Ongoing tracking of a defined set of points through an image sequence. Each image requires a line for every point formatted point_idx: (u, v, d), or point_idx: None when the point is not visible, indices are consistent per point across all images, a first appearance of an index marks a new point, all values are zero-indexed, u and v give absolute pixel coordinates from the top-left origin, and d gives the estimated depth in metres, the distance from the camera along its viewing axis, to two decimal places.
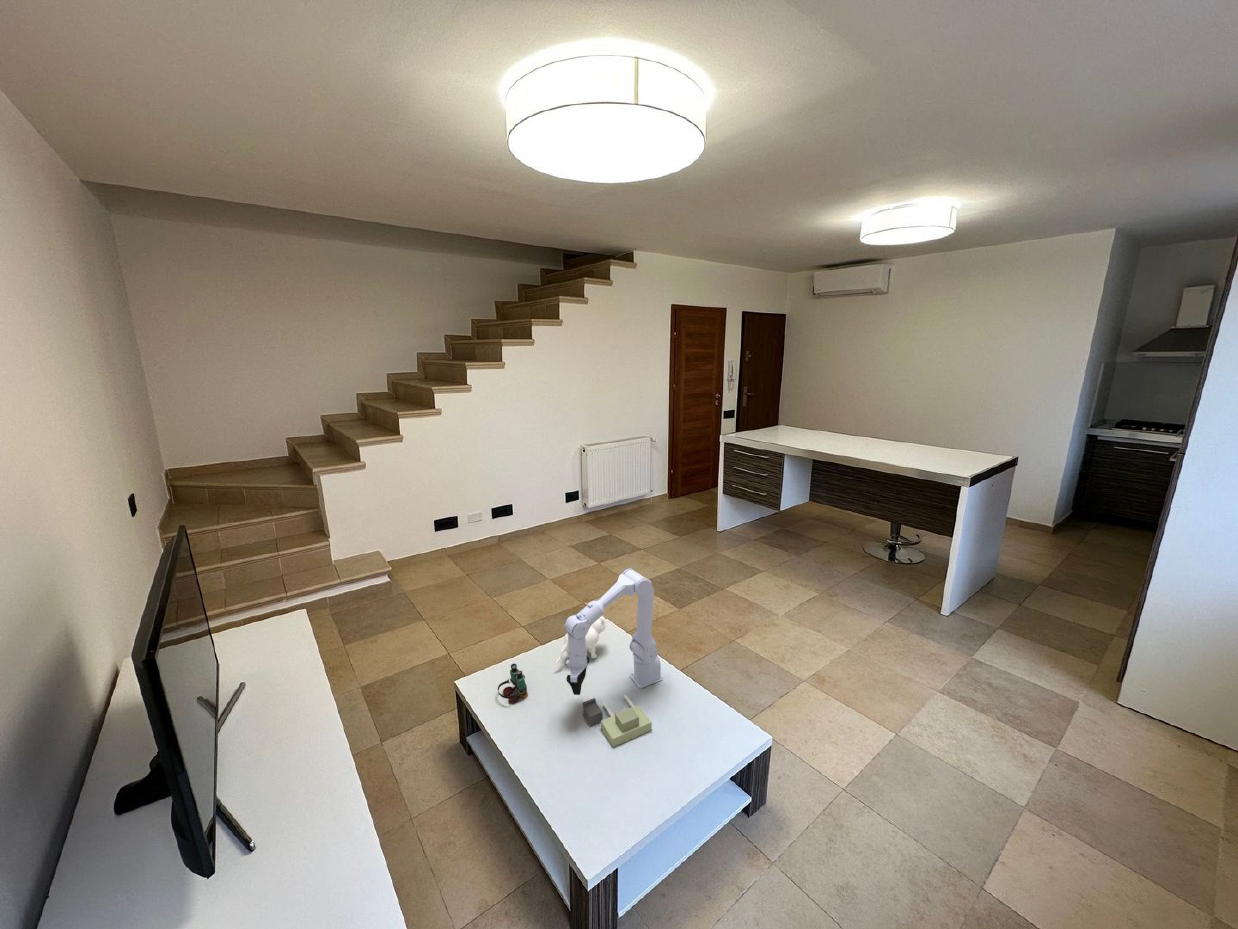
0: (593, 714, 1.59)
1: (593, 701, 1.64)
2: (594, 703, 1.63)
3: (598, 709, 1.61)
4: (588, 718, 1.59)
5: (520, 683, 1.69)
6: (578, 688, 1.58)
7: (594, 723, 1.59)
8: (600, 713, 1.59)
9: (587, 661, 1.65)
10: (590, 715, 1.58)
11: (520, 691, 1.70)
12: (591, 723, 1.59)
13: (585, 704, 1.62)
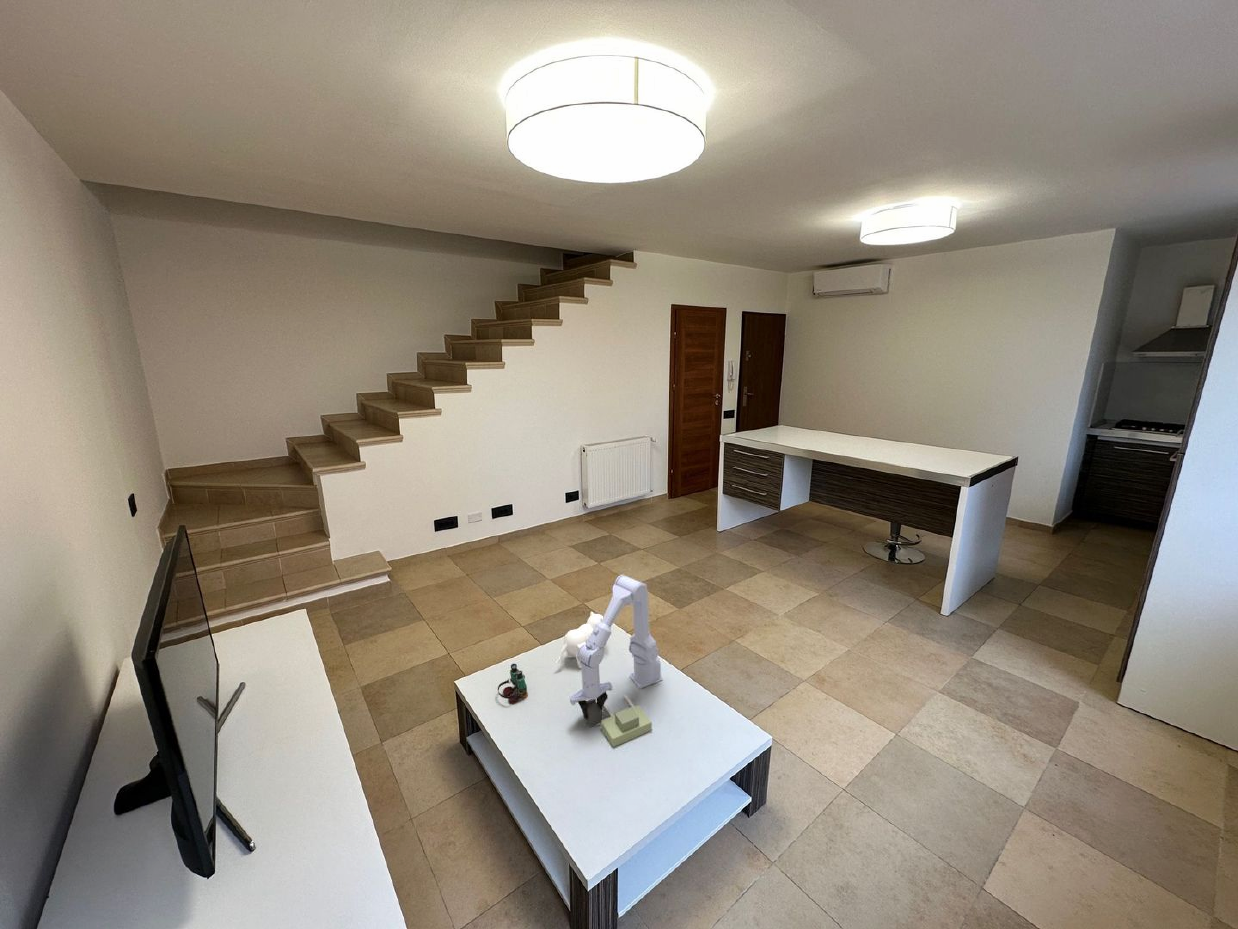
0: (593, 714, 1.58)
1: (593, 701, 1.63)
2: (594, 703, 1.63)
3: (598, 709, 1.60)
4: (588, 719, 1.59)
5: (520, 683, 1.69)
6: None
7: (594, 723, 1.59)
8: (600, 713, 1.59)
9: (601, 698, 1.59)
10: (590, 715, 1.58)
11: (520, 691, 1.70)
12: (591, 723, 1.58)
13: None
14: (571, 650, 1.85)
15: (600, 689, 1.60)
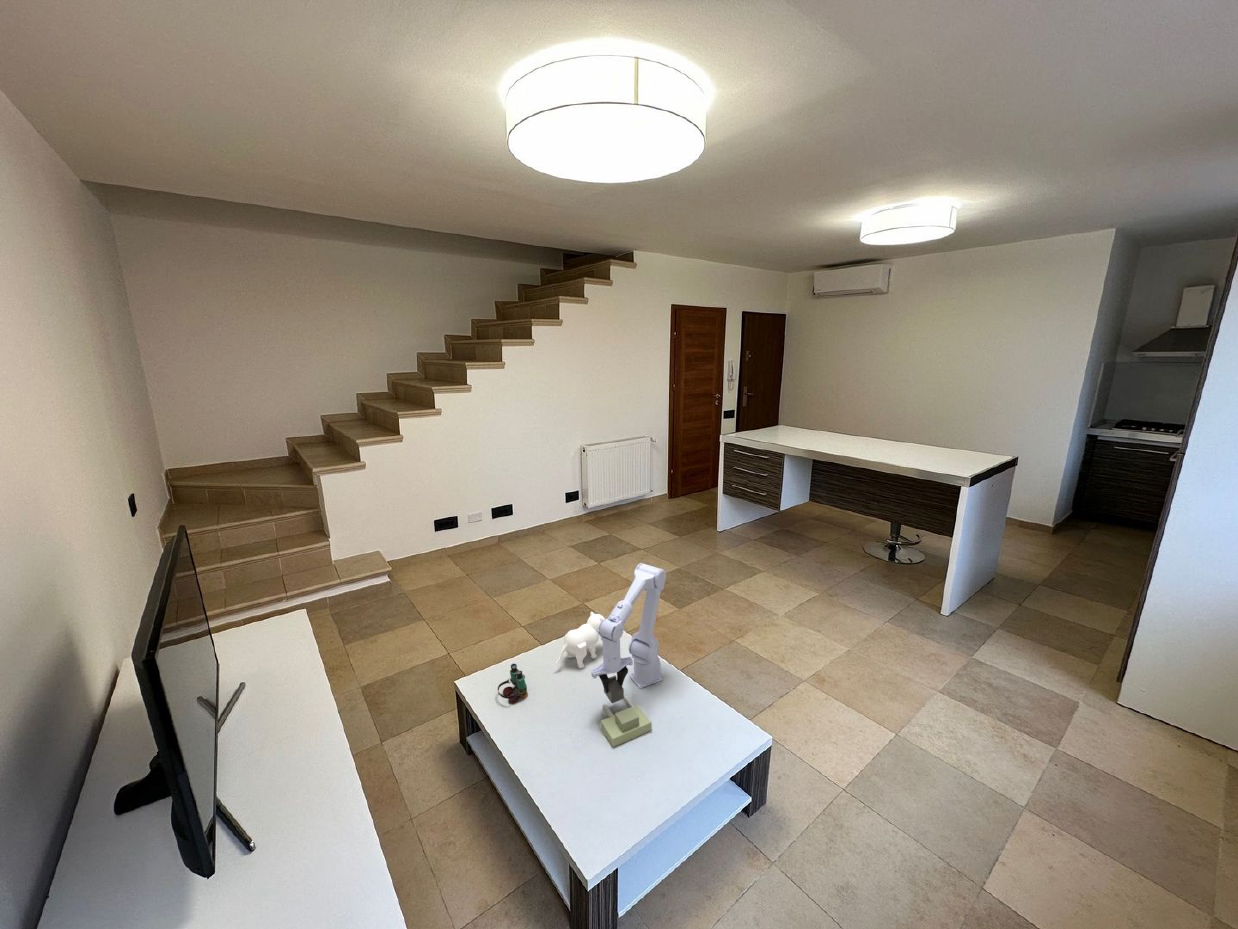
0: (614, 691, 1.60)
1: (614, 678, 1.65)
2: (615, 680, 1.65)
3: (619, 686, 1.62)
4: (609, 695, 1.61)
5: (520, 683, 1.69)
6: None
7: (615, 700, 1.61)
8: (621, 690, 1.61)
9: (622, 672, 1.61)
10: (611, 692, 1.60)
11: (520, 691, 1.70)
12: (612, 700, 1.60)
13: None
14: (571, 650, 1.85)
15: (621, 663, 1.62)
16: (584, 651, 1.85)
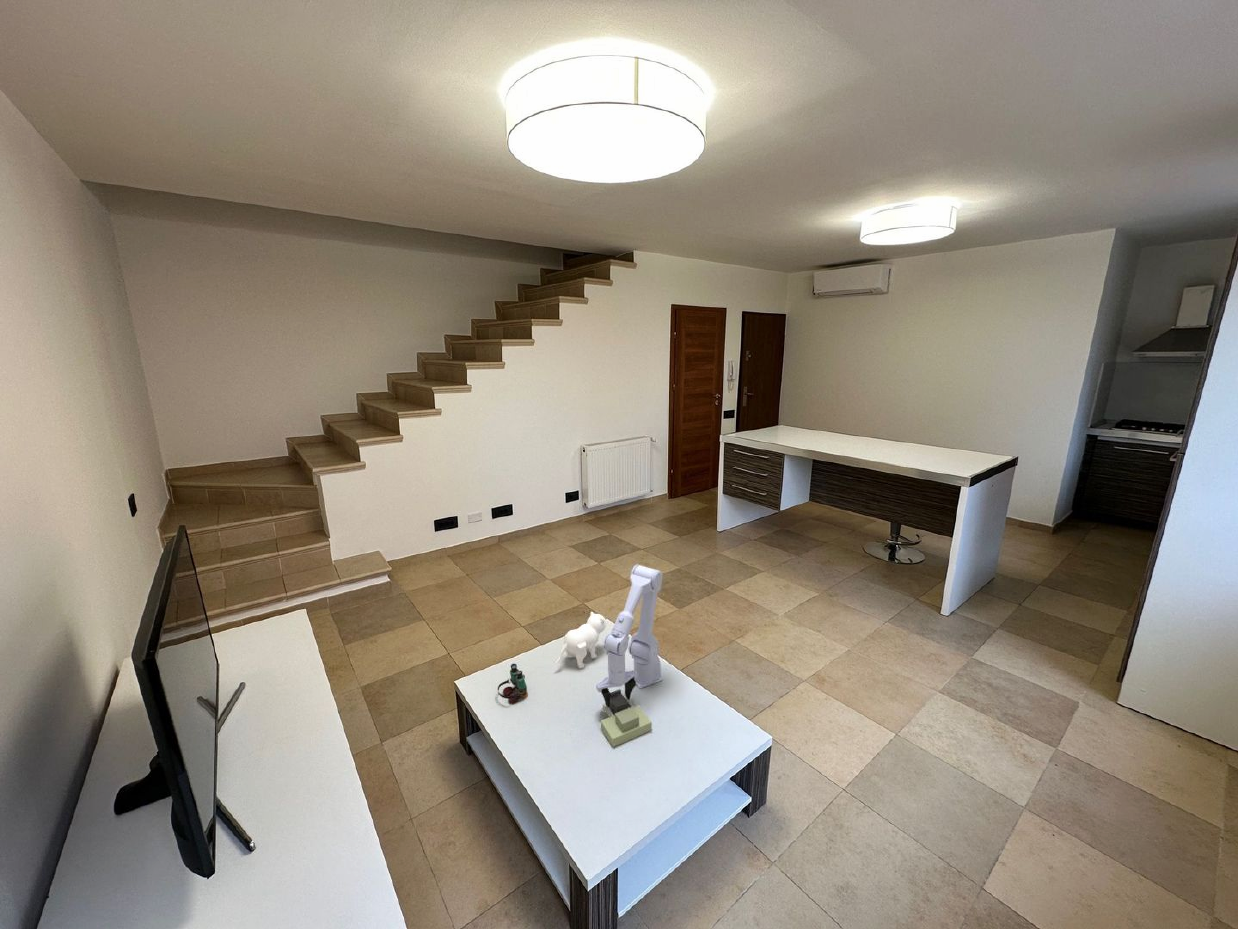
0: (619, 705, 1.63)
1: (618, 692, 1.67)
2: (620, 694, 1.67)
3: (624, 700, 1.65)
4: (614, 709, 1.63)
5: (520, 683, 1.69)
6: (606, 700, 1.63)
7: None
8: (626, 704, 1.63)
9: (630, 684, 1.64)
10: (616, 705, 1.62)
11: (520, 691, 1.70)
12: None
13: (611, 695, 1.66)
14: (571, 650, 1.85)
15: (625, 677, 1.64)
16: (584, 651, 1.85)
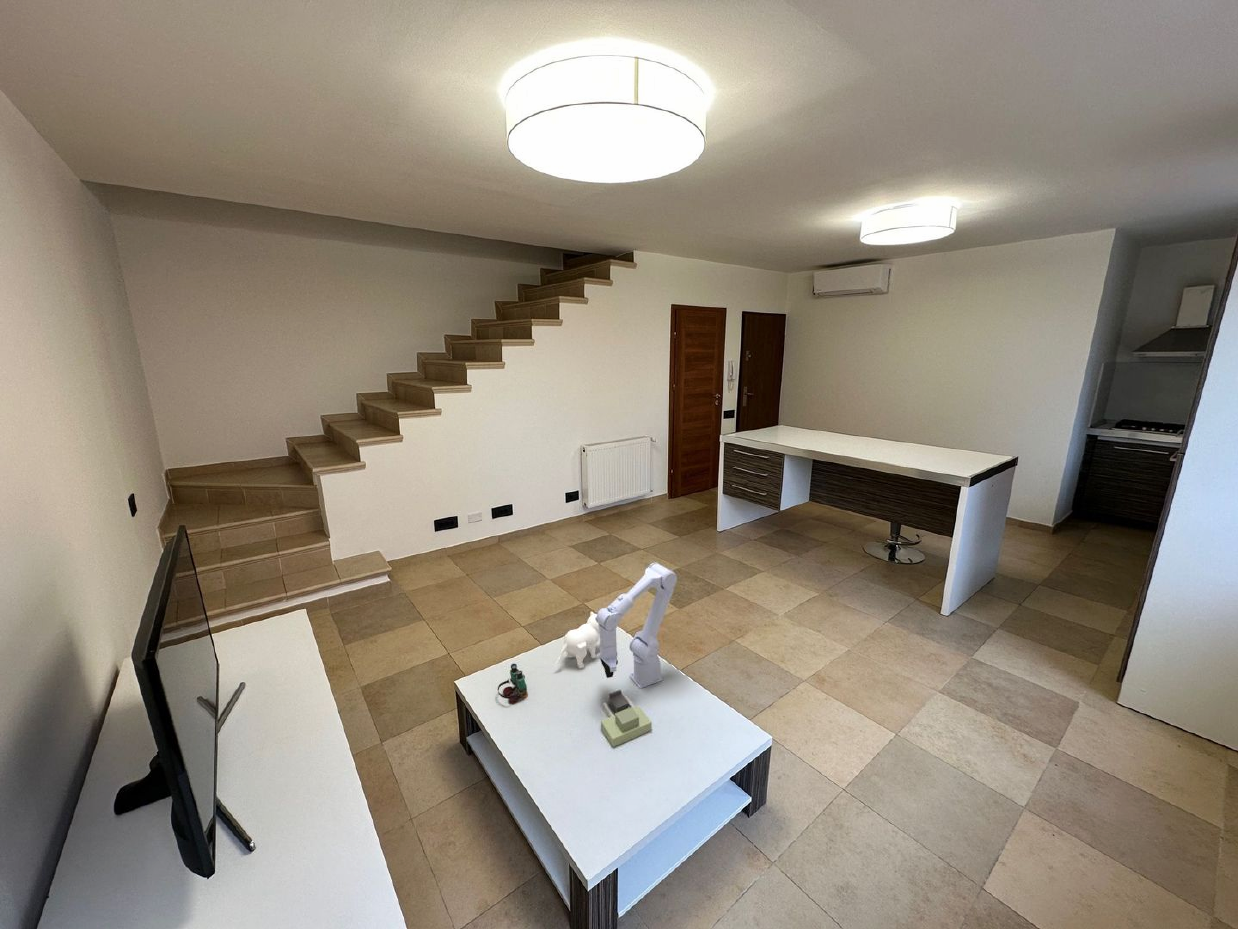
0: (620, 705, 1.62)
1: (619, 693, 1.67)
2: (620, 695, 1.67)
3: (624, 700, 1.64)
4: (615, 710, 1.63)
5: (520, 683, 1.69)
6: None
7: None
8: (626, 704, 1.63)
9: None
10: (617, 706, 1.62)
11: (520, 691, 1.70)
12: None
13: (611, 696, 1.66)
14: (571, 650, 1.85)
15: None
16: (584, 651, 1.85)
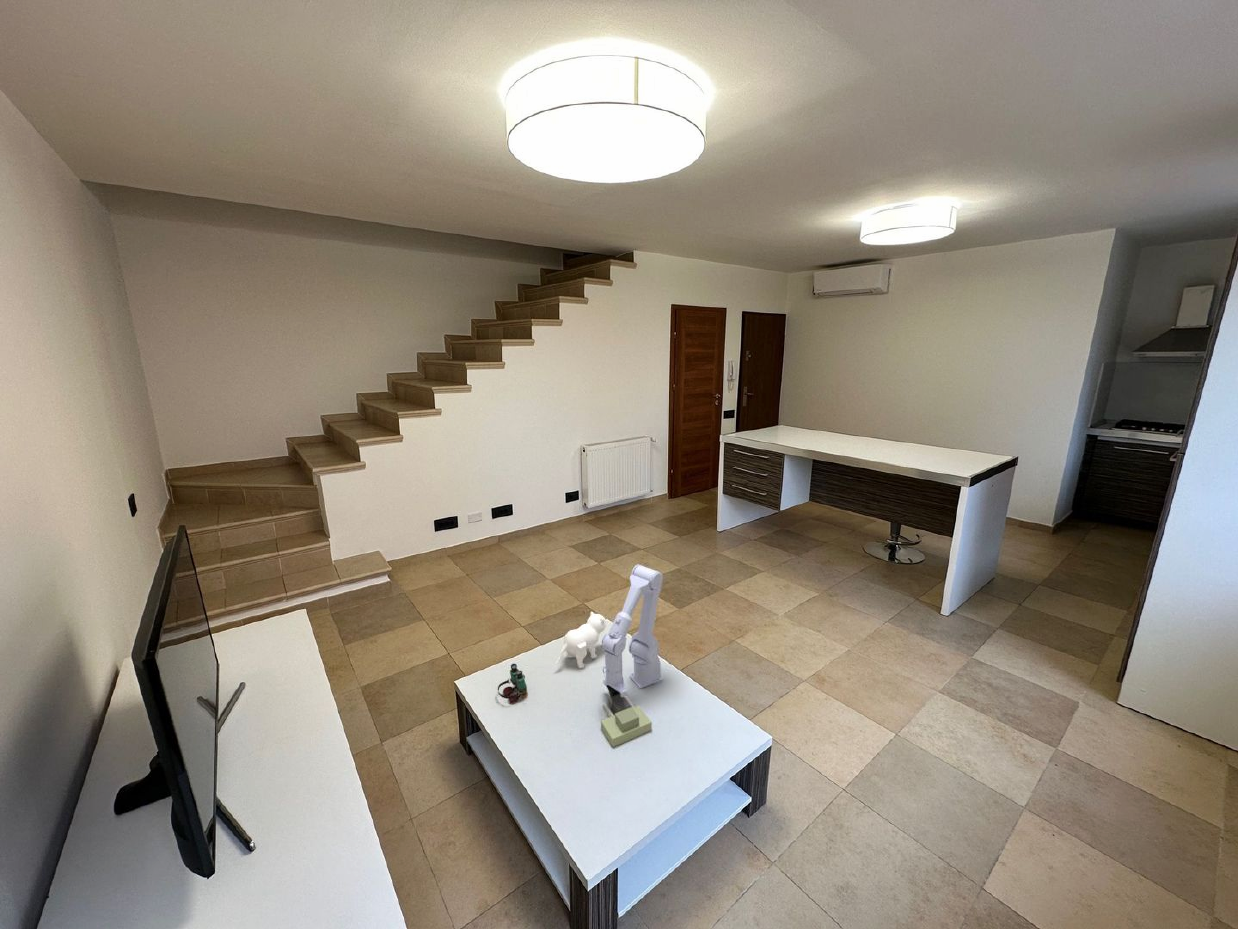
0: (622, 708, 1.61)
1: None
2: (622, 697, 1.65)
3: (627, 703, 1.63)
4: (617, 712, 1.61)
5: (520, 683, 1.69)
6: None
7: None
8: (629, 707, 1.62)
9: None
10: (619, 709, 1.60)
11: (520, 691, 1.70)
12: None
13: (613, 698, 1.64)
14: (571, 650, 1.85)
15: None
16: (584, 651, 1.85)
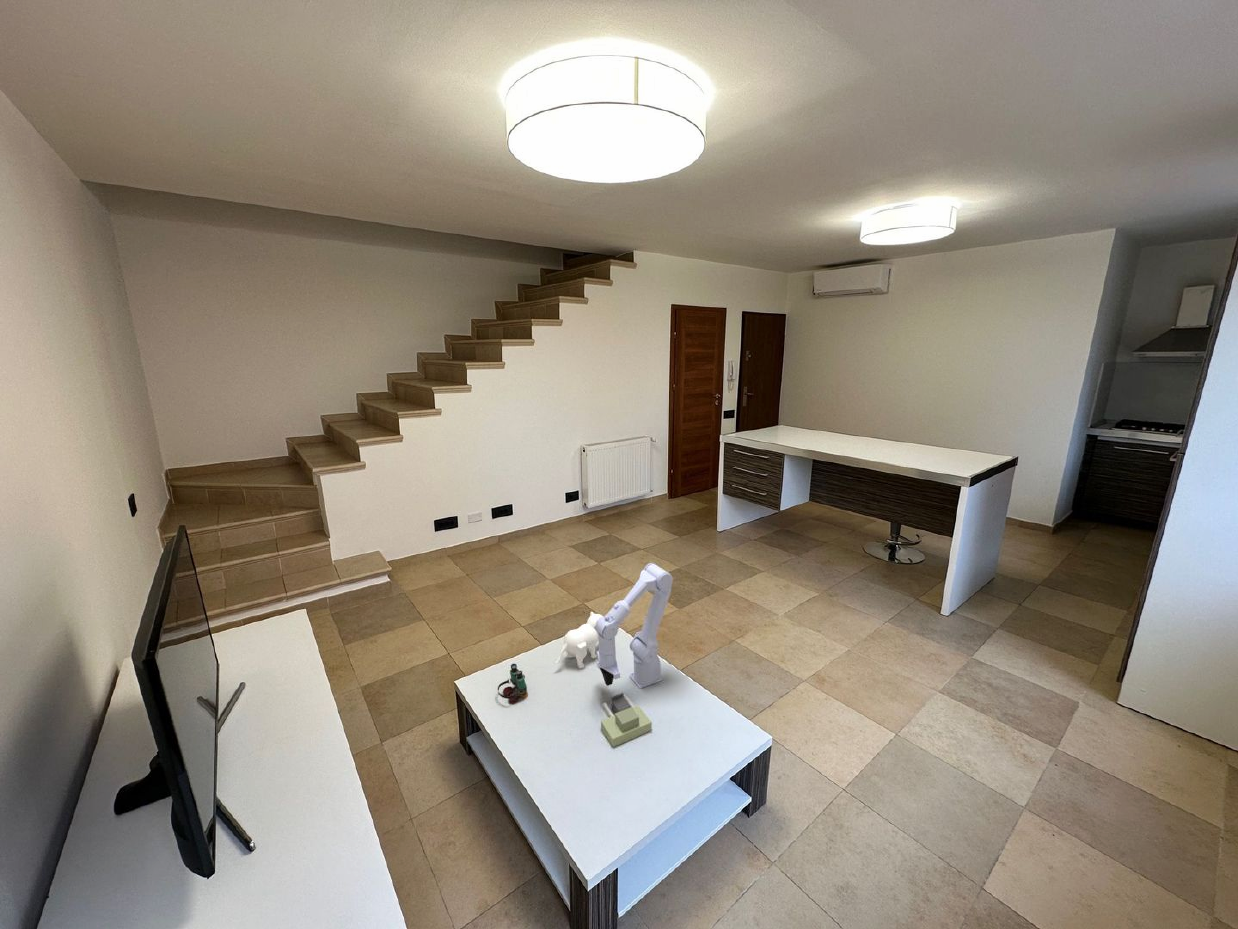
0: (622, 708, 1.61)
1: (621, 696, 1.66)
2: (622, 698, 1.65)
3: (627, 703, 1.63)
4: None
5: (520, 683, 1.69)
6: (611, 678, 1.70)
7: None
8: (629, 707, 1.62)
9: None
10: (619, 709, 1.60)
11: (520, 691, 1.70)
12: None
13: (613, 699, 1.64)
14: (571, 650, 1.85)
15: None
16: (584, 651, 1.85)
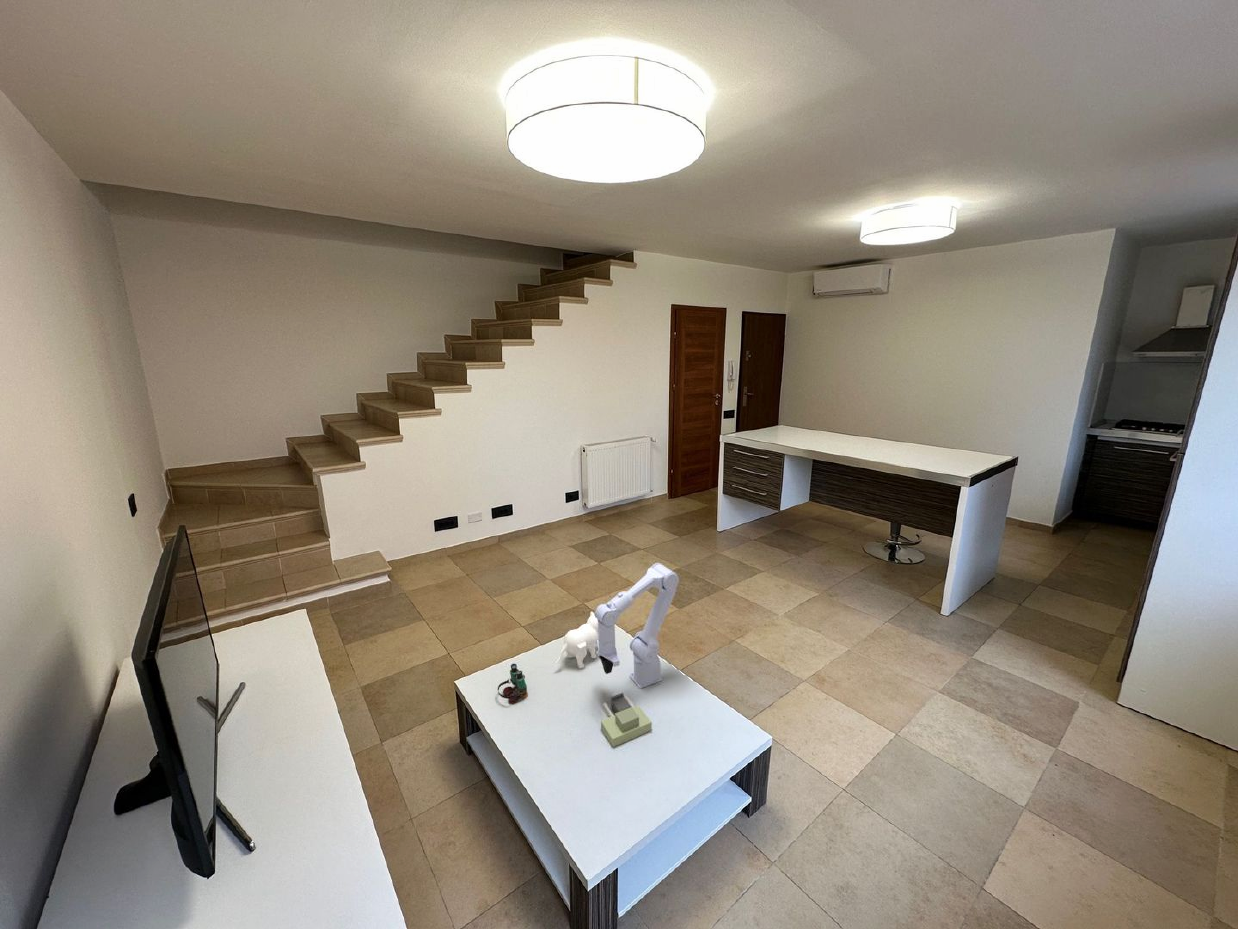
0: (622, 708, 1.61)
1: (621, 696, 1.66)
2: (622, 698, 1.65)
3: (627, 703, 1.63)
4: None
5: (520, 683, 1.69)
6: (610, 666, 1.69)
7: None
8: (629, 707, 1.62)
9: None
10: (619, 709, 1.60)
11: (520, 691, 1.70)
12: None
13: (613, 699, 1.65)
14: (571, 650, 1.85)
15: None
16: (584, 651, 1.85)
